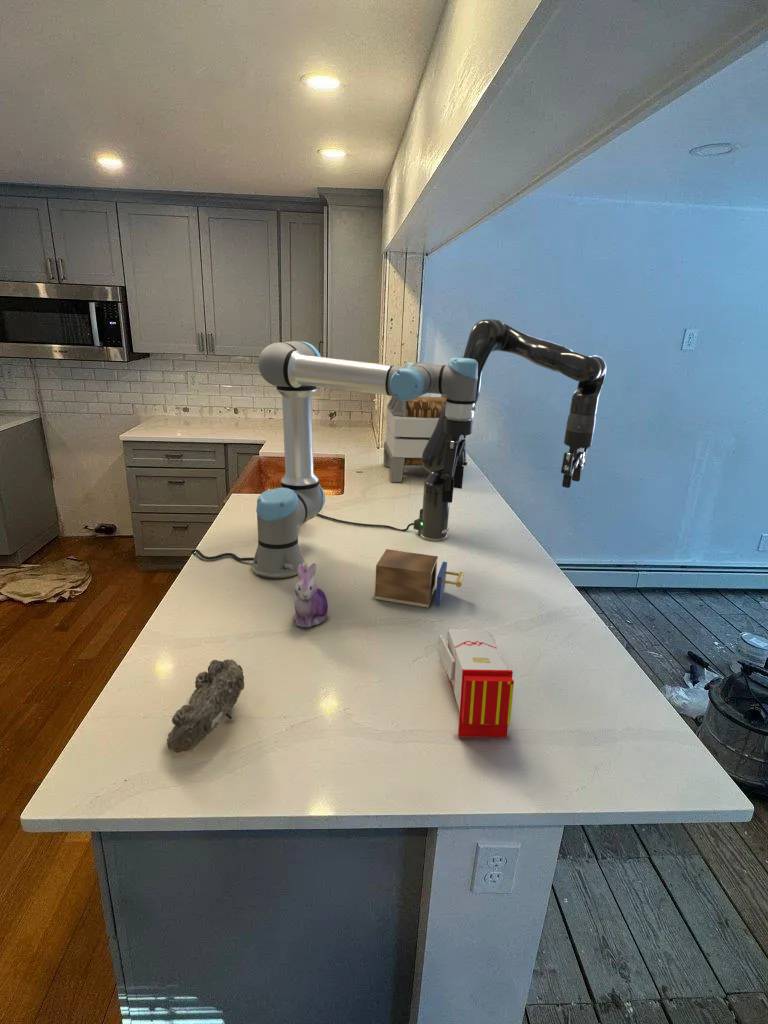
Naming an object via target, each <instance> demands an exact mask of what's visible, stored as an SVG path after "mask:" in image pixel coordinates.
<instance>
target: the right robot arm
mask: <svg viewBox="0 0 768 1024" xmlns="http://www.w3.org/2000/svg"><path fill="white" fill-rule="evenodd" d="M493 352H505V353H510V354H513V355H516V356H520V357H522V358H523V359H525V360H527V361H529V362H531V363H532V364H534V365H537V366H538V367H541V368H544V369H547V370H550V371H552V372H557V373H559V374H562V376H563V375H564V376H565V377H567V378H569V379H571V380H573V381H575V382H577V387H576V390H575V391H574V393H573V394H572V397H571V401H570V407H569V412H568V416H567V420H566V425H565V426H566V427H565V433H564V438H563V444H564V445H565V446H567V447H569V449H568V451H565V452H564V453H563V459H562V465H561V470H560V473H561V474H563V477H562V484H561V486H562V488H567V489H569V488H571V486H572V485H571V484H572V481H573V482H580V481H581V477H582V470H583V469H584V467H585V466H586V463H587V457H588V451H589V450H588V449H590V447H592V444H593V439H594V432H595V426H596V415H597V411H598V404H599V398H600V394H601V391H602V388H603V386H604V383H605V382H604V381H605V378H606V373H607V364H606V362H605V360H604V359H603V357H601V356H598V355H585V354H582V353H578V352H576V351H573V350H572V349H571V348H569V347H567V346H564V345H561V344H558V343H555V342H551V341H548V340H544V339H542V338H538V337H535V336H531V335H528V334H527V333H524V332H521V331H519V330H517V329H515V328H513V327H511V326H510V325H508V324H506V323H504V322H502V321H501V320H499V319H492V318H491V319H490V318H484V319H483V318H482V319H481V320H478V321H477V322H475V324H474V325H473V326H472V328H471V330H470V333H469V335H468V339H467V343H466V346H465V350H464V353H463V357H462V358H469V359H474V360H476V361H477V362H478V379H477V387H476V396H475V405H474V407H476V405H477V403H478V400H479V397H480V393H481V385H482V384H481V383H482V373H483V371H484V367H485V365H486V363H487V361H488V359H489V357H490V355H491V353H493ZM445 409H446V402H445V404H444V407H443V410H442V412H441V414H440V417H439V420H438V422H437V425H436V427H435V430H434V432H433V434H432V436H431V438H430V439H429V441H428V443H427V445H426V447H425V449H424V451H423V454H422V464H423V466H422V467H423V468H424V470H425V471H427V472H428V473H429V474H428V476H427V477H426V478H425V480H424V482H423V493H422V496H423V497H422V506H421V508H420V509H419V516H418V518H416V519H415V520H413V522H411V523H409V524H408V525H407V527H406V528H403V529H400V528H397V527H395V526H391V525H387V524H372V523H361V522H353V521H347V520H342V519H338V518H335V517H330V516H327V515H324V514H321V513H318V514H317V515H316V516H318V517H321V518H323V519H327V520H331V521H335V522H339V523H342V524H349V525H354V526H361V527H362V526H364V527H376V528H388V529H391V530H395V531H399V532H406V531H408V530H409V529H410V527H411V526H413V530H416V531H417V535H418V536H420V538H421V539H424V540H426V541H432V542H440V541H444V540H446V539H447V538H448V532H449V529H450V528H448V525H449V517H450V516H449V514H450V504H451V503H450V502H443V501H442V492H443V480H444V478H441V475H442V474H443V468H444V463H445V457H446V451H447V442H448V440H451V435H450V434H447V433H445V432H444V423H445V419H446V418H447V417H446V416H445ZM447 474H450V473H447Z"/></svg>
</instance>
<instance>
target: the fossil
mask: <svg viewBox="0 0 768 1024" xmlns="http://www.w3.org/2000/svg"><path fill="white" fill-rule="evenodd" d="M243 670H244V669H243V667H242V665H240V664H237V662H236V661H235V660H234V659H232V658H231V659H227V658H226V659H224V660H223V661H222V660H217V659H212V660H211V661H210V663H209V665H208V666H207V671H201V672H199V673H198V674H197V675H196V676H195V680H194V684H195V685H194V687H195V689H194V690H193V693H192V694H191V697H190V698H189V700H188V704H184V705H182V706H181V707H180V709H177V710H176V711H175V713H174V715H173V716H172V718H171V723H172V724H173V727H172V730H171V731H170V732H168V734H167V738H166V741H167V742H166V745H167V749H168V750H169V751H173V752H174V753H176V754H178V753H182V752H188V751H189V752H192V751H193V750H195V748H196V747H197V746H199V744H200V743H201V742H203V741H204V740H205V739H206V738H207V737H208V736H209V735H210V734H211V733H212V732H214V730H215V729H217V727H218V726H219V724H220V722H221V721H222V720H223V719H224V718H225V716H226V717H227V719H229V720H233V717H232V715H230V714H229V710H230V709H231V708H234V706H235V704H236V703H237V702H238V699H239V697H240V695H241V693H242V691H243V690H245V689H244V688H245V675H244V671H243Z"/></svg>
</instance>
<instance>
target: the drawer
mask: <svg viewBox="0 0 768 1024" xmlns="http://www.w3.org/2000/svg"><path fill="white" fill-rule="evenodd" d="M436 564H437V565H438V562H437V563H436ZM447 568H448V562H447V561H442V563H441V565H440V568H439V571H438V573H437V572H436V565H435V567H434V570H433V572H432V575H431V587H430V598H431V595H432V592H433V590H434V587H435V590H434V591H435V598H434V604H435V605H440V603H441V600H442V598H443V595H444V592H445V588H446V584H449V585H455V586H456V587H457V588H461V587H462V585H463V581H464V577H465V572H463V571H459V572H455V571H447V570H448V569H447ZM447 575H449V576H450V575H451V576H457V577H456V581H453V580H447ZM435 576H436V584H435ZM429 600H430V599H429Z"/></svg>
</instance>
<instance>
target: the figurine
mask: <svg viewBox="0 0 768 1024" xmlns="http://www.w3.org/2000/svg"><path fill="white" fill-rule="evenodd" d="M316 573H317V563H316V562H313V563H311V565H310V566H309V567H308V569H307V570H306V567H305V565H304V566H303V564H299V566H298V574H297V578H298V579H297V581H296V583H295V586H294V589H293V590H294V594H295V596H296V598H295V601H294V612H295V615H294V619H295V626H297V627H302V628H311V627H312V626H313V627H314V626H318V625H320V624H322V623H323V622H324V621H325V620H326V619H327V616H328V610H329V604H328V598H327V595H326V594H325V592H324V591H323V590H322V589H321V588H319V587H318V586H317V583H316V581H315V575H316Z"/></svg>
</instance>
